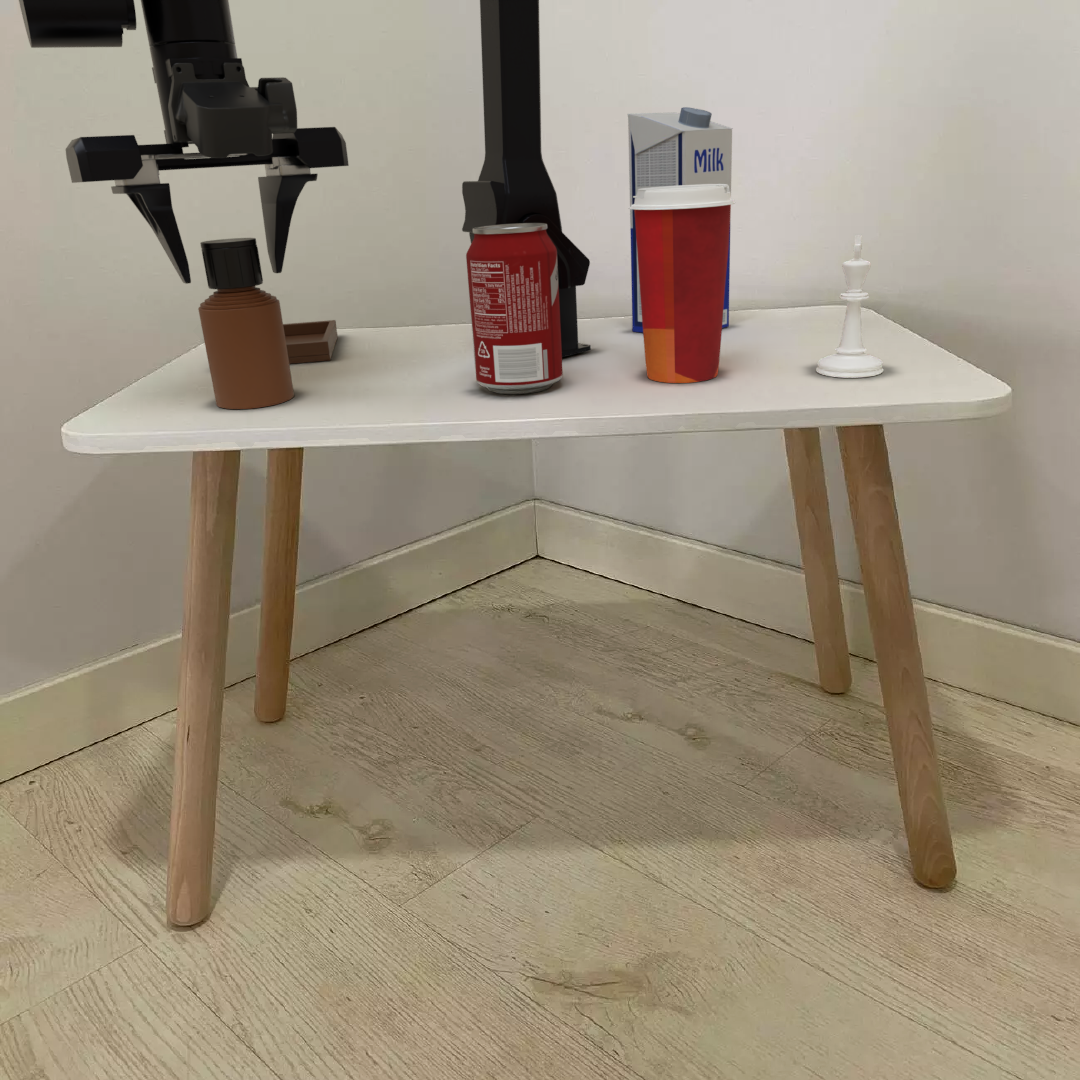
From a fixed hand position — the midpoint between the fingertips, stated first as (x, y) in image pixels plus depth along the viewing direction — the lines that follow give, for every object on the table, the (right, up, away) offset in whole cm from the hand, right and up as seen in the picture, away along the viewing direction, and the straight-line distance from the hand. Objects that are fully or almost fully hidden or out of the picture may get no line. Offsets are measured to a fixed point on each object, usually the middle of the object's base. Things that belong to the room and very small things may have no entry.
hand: (233, 277), depth 72 cm
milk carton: (+37, +1, +22) cm, 43 cm away
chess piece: (+47, -7, +1) cm, 48 cm away
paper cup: (+34, -7, +3) cm, 35 cm away
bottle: (+1, -9, +4) cm, 9 cm away
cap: (0, -1, 0) cm, 1 cm away
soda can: (+22, -8, +3) cm, 23 cm away
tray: (-2, -1, +23) cm, 23 cm away
